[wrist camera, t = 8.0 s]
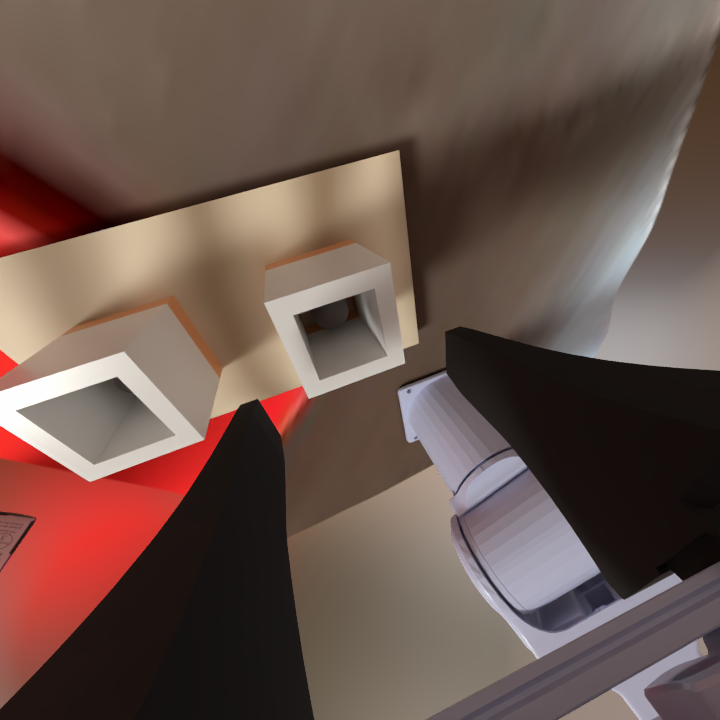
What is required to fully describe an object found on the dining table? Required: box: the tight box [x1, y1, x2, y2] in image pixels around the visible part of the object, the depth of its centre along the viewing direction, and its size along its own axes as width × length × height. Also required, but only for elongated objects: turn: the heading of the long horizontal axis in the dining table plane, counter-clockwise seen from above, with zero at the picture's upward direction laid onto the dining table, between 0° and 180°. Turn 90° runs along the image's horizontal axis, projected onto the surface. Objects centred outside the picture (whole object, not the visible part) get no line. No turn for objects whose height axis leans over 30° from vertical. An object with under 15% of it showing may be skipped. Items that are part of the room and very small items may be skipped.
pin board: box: [0, 150, 419, 419], centre depth 15 cm, size 22×12×5 cm, turn 103°
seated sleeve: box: [0, 296, 223, 482], centre depth 13 cm, size 5×5×6 cm
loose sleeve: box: [264, 239, 405, 399], centre depth 14 cm, size 5×5×6 cm
